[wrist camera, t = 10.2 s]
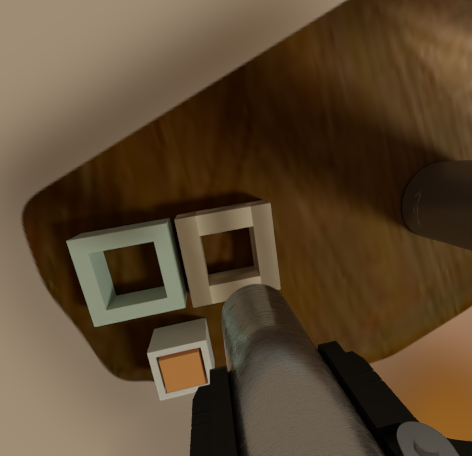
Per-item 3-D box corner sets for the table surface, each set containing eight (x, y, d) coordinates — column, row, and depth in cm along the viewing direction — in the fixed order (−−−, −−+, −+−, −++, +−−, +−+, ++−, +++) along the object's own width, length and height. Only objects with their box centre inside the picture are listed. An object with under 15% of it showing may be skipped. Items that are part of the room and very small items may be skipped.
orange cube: (198, 330, 28) (198, 351, 25) (204, 359, 29) (205, 383, 26) (163, 338, 28) (158, 361, 25) (171, 367, 29) (167, 392, 26)
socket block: (262, 199, 27) (270, 202, 24) (272, 277, 29) (280, 289, 26) (177, 214, 26) (174, 219, 23) (194, 294, 28) (193, 307, 25)
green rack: (170, 217, 26) (166, 223, 23) (186, 293, 28) (185, 307, 25) (81, 233, 25) (65, 241, 22) (105, 310, 27) (94, 327, 24)
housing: (205, 317, 29) (206, 339, 25) (214, 359, 30) (216, 386, 27) (154, 328, 28) (146, 353, 25) (165, 371, 30) (160, 400, 26)
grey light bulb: (284, 277, 14) (456, 503, 4) (291, 336, 15) (446, 629, 5) (215, 291, 14) (243, 569, 4) (227, 351, 15) (271, 691, 5)
